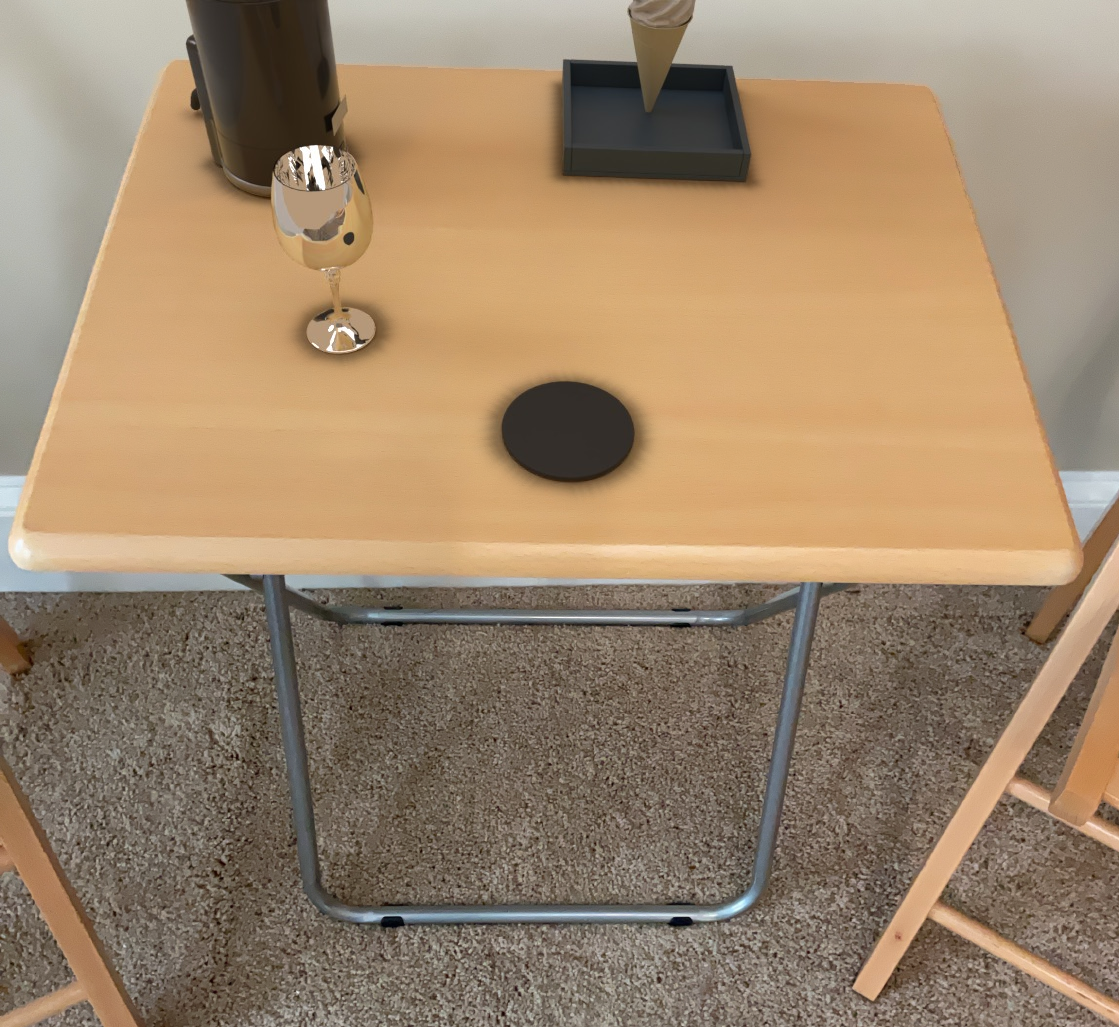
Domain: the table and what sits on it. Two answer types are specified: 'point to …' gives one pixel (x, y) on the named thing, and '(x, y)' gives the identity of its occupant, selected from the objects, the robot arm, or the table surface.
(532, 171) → the table surface
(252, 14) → the robot arm
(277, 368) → the table surface
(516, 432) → the coaster
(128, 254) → the table surface
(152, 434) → the table surface
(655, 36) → the ice cream cone
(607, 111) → the tray
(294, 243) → the wineglass
